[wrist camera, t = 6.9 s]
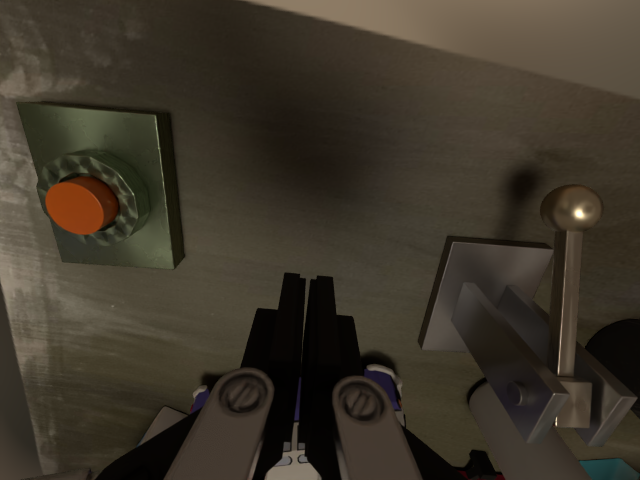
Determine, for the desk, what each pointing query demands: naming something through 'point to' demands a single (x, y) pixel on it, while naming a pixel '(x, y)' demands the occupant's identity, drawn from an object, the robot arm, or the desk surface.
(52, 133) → the button box
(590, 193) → the lever
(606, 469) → the vase
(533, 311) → the bracket
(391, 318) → the desk surface
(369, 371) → the toy car
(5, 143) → the desk surface
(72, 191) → the button
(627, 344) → the travel mug
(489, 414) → the beverage can
